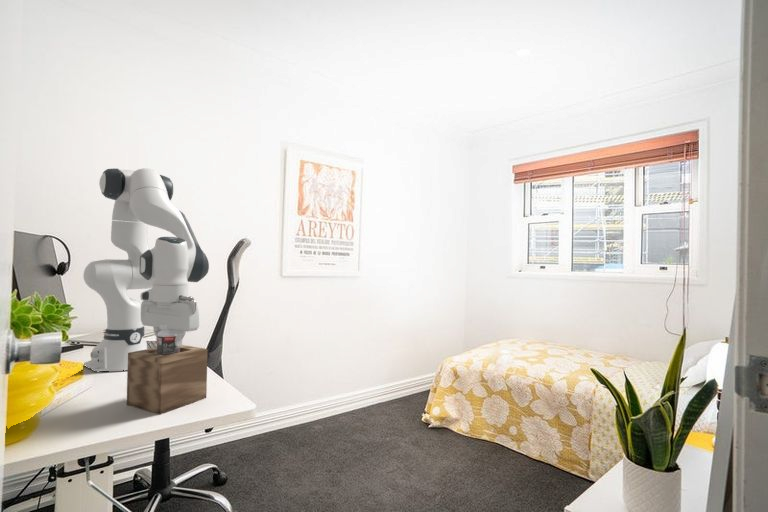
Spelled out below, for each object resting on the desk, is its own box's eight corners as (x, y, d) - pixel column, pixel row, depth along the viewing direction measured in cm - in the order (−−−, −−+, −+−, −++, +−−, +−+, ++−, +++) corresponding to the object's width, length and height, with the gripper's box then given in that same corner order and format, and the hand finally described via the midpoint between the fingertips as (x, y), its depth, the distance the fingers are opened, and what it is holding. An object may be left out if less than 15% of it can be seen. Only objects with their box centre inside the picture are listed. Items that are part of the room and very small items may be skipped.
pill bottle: (163, 362, 108) (164, 326, 108) (152, 359, 111) (153, 323, 111) (184, 358, 113) (184, 323, 113) (172, 355, 116) (173, 321, 116)
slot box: (126, 404, 108) (128, 352, 109) (173, 390, 121) (174, 343, 121) (160, 414, 102) (161, 359, 103) (206, 398, 115) (207, 349, 115)
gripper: (206, 296, 110) (204, 346, 110) (157, 292, 119) (156, 338, 119) (185, 297, 105) (184, 350, 105) (136, 293, 114) (135, 342, 114)
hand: (168, 344), depth 112 cm, fingers closed on pill bottle, 6 cm apart
